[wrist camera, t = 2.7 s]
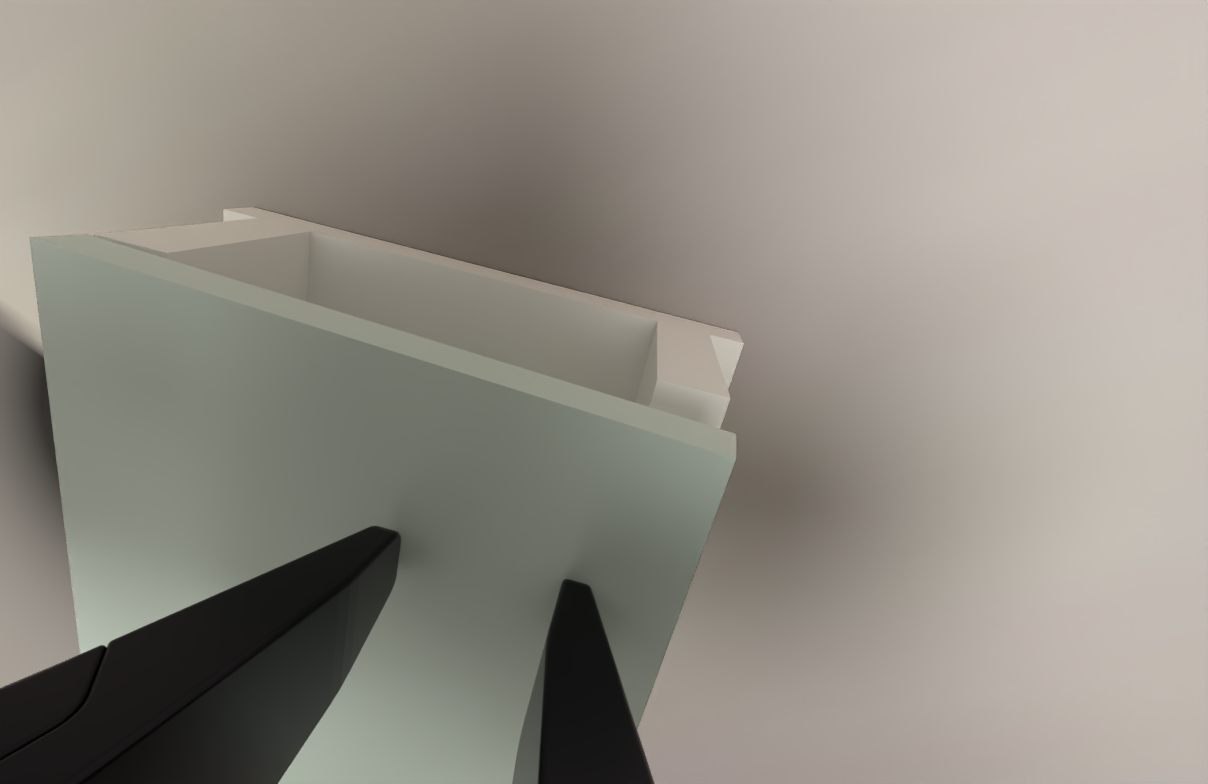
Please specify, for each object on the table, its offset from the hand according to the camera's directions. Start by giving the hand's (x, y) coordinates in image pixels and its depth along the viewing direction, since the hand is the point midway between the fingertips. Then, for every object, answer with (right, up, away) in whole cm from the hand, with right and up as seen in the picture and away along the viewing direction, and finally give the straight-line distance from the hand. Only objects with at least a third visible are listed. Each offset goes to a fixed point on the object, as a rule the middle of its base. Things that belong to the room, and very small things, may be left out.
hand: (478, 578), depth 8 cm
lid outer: (-2, -1, +2) cm, 3 cm away
